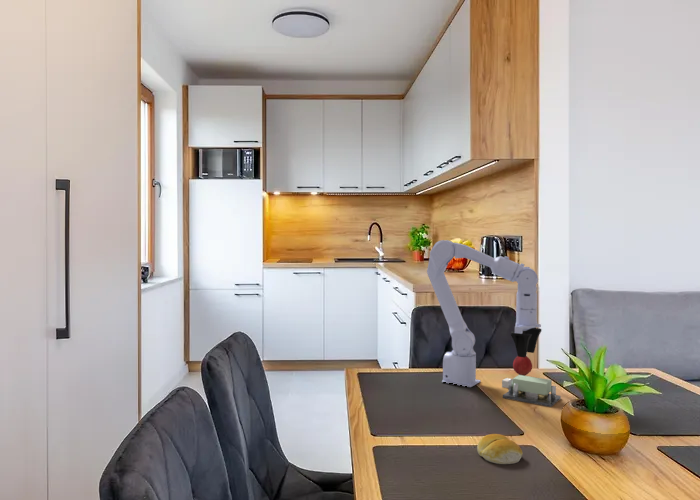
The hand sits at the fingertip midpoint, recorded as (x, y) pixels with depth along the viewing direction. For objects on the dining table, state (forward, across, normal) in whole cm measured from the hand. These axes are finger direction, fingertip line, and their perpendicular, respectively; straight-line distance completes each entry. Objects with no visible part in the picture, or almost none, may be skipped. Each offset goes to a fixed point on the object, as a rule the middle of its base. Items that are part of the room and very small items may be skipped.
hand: (526, 354), depth 153 cm
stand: (+10, -2, +2) cm, 10 cm away
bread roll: (+10, -51, -11) cm, 54 cm away
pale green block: (+8, -9, -5) cm, 13 cm away
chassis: (+10, -9, -4) cm, 14 cm away
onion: (+10, +12, +5) cm, 16 cm away
